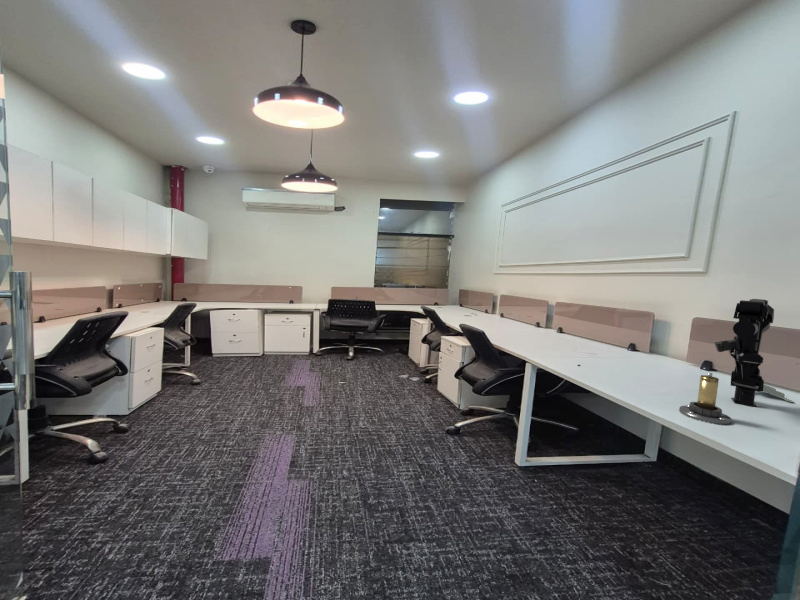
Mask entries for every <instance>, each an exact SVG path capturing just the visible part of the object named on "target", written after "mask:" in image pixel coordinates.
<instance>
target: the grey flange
mask: <svg viewBox="0 0 800 600" xmlns="http://www.w3.org/2000/svg"><path fill="white" fill-rule="evenodd" d="M678 411H679V413H681V414H682V415H684V416H685V417H688V418H690V417H691V418H690V419H694V420H696V421H699V420H701V422H703V421H705V422H704V423H707V422H709V423H708V424H712V423H714V425H720V424H721V426H727V425H731V424H732V420H733V419H732V418H731V417H730V416H728V415H727V414H725V413H723V410H722V408H720V407H719V406H716V405H715V410H709V409H704V408H701V407H698V406H697V401H691V402H689V404H687V405H680V406H679V409H678Z"/></svg>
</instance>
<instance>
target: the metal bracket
mask: <svg viewBox="0 0 800 600" xmlns="http://www.w3.org/2000/svg"><path fill="white" fill-rule="evenodd" d="M756 387H758V386H756ZM762 392H763V393H767V394H770V395H771V396H774V397H777V398H779V399H783V400H785V401H786V402H788V403H789V402H790V403H791V402H792V401H793V400H791V399H790V398H788V397H786V395H785V394H784V392H781V391H778V390H776V388H775V387H772V386H769V385H766V384H764V388H763V391H762ZM785 397H786V398H785ZM787 398H788V399H787ZM789 399H790V400H789Z"/></svg>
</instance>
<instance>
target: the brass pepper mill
mask: <svg viewBox="0 0 800 600" xmlns="http://www.w3.org/2000/svg"><path fill="white" fill-rule="evenodd" d="M719 379H720V378H718V377H715V376H713V372H707V374H706V375H704V374H702V375H700V377H699V388H698V394H697V401H696V402H697V406H698V407H701V408H704V409H709V410H715V406H716V404H717V403H716V402H717V396H718V395H717V394H718V387H719Z"/></svg>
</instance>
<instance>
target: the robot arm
mask: <svg viewBox="0 0 800 600" xmlns="http://www.w3.org/2000/svg"><path fill="white" fill-rule="evenodd" d="M733 319H736V320H737V319H738V321H737V322H735V324H734V325H733V326H732V331H733V333H734V334H735V336H733V339H730V340H720V341H715V342H714V345H715V348H716V351H717V352H718V353H722V352H727V351H728V353H729V355H730V356H731V357H732V358H733V359H734V363H735V367H734V370H732V371H731V376H730V386H731V387H735V390H734V396H733V397H730V398H731V401H732V402H733V403H735V404H740V405H744V406H745V405H746V406H751V407H756V408H757V407H758V405H757V403H755V399H756V398H755V397H756V392H758V393H760V392H763V388H764V385H765V380H764V379H763V376H762V375H761V371H760V368H759V366H761V365H762V364H763V363H764V357H763V356H762V355H761V354H760V348H761V344H762V339H763V334H764V333H765V332H766V331H768V330H770V328H771V324H773V323H774V319H775V309H774V308H773V307H772V306H771V305H769V300H767V299H761V298H758V299H757V298H752V299H749V300H744V299H743V300H742V299H741V300H740V301H739V302H737V303H736V306H735V309H734V314H733ZM756 386H758V387H756Z"/></svg>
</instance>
